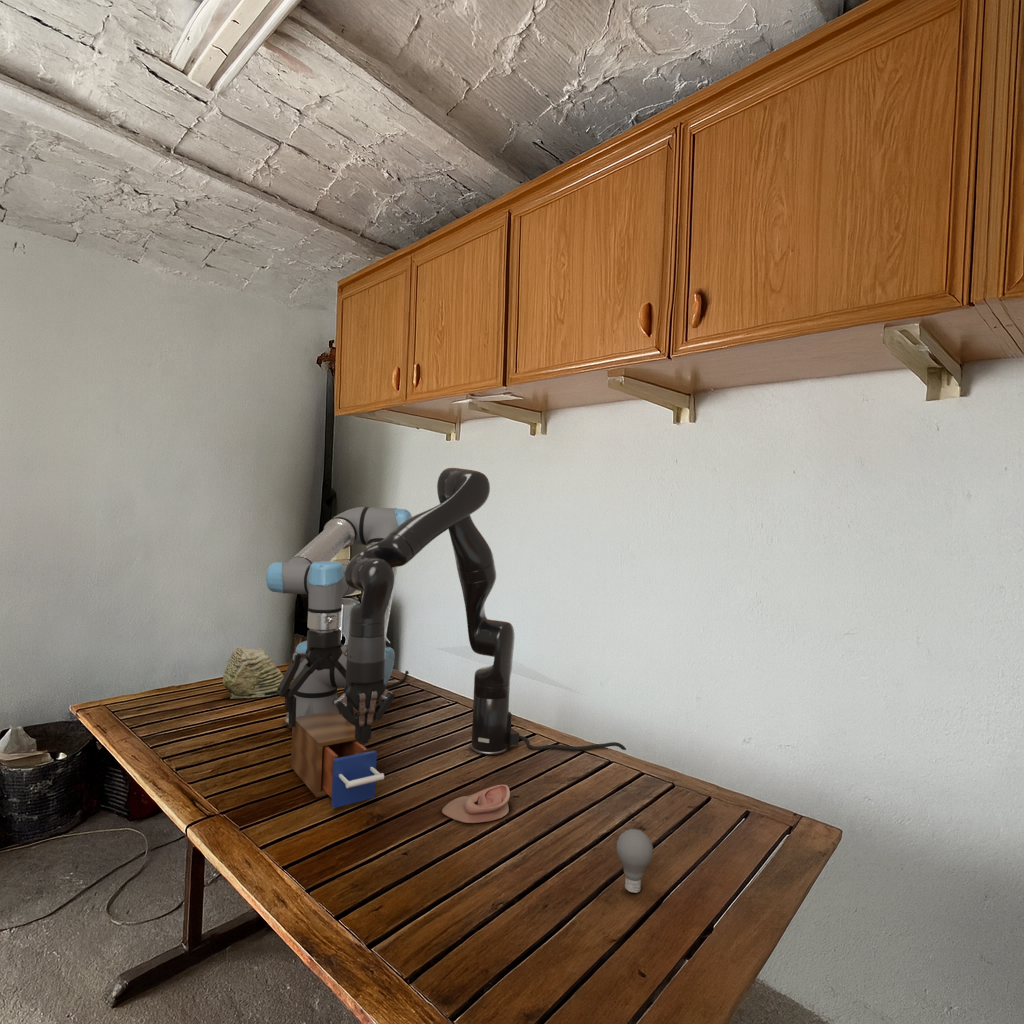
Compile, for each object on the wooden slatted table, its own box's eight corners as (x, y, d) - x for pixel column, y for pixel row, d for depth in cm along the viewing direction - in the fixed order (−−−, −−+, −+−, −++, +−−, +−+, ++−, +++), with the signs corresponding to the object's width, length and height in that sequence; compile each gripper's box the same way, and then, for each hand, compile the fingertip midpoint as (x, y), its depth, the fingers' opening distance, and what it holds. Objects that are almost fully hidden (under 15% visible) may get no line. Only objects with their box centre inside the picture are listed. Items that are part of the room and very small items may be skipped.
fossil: (218, 695, 195) (220, 647, 195) (278, 685, 208) (279, 640, 207) (228, 703, 189) (230, 653, 188) (289, 692, 201) (290, 645, 201)
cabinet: (362, 786, 139) (364, 734, 139) (316, 797, 133) (318, 743, 133) (333, 757, 154) (335, 710, 153) (290, 766, 148) (292, 717, 147)
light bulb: (610, 879, 108) (613, 822, 108) (644, 879, 109) (647, 822, 109) (619, 902, 102) (622, 840, 102) (655, 901, 103) (658, 840, 103)
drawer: (386, 808, 128) (388, 761, 128) (343, 820, 123) (345, 770, 123) (345, 768, 146) (347, 727, 146) (306, 777, 140) (308, 734, 140)
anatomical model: (437, 799, 126) (454, 775, 137) (436, 818, 126) (453, 793, 138) (502, 808, 124) (514, 783, 135) (501, 828, 124) (513, 801, 135)
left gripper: (273, 638, 136) (270, 735, 137) (381, 627, 151) (378, 715, 151) (264, 630, 142) (261, 724, 143) (368, 620, 157) (365, 705, 157)
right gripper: (341, 664, 120) (337, 755, 120) (404, 657, 128) (401, 742, 128) (327, 656, 126) (323, 742, 126) (388, 649, 134) (385, 730, 134)
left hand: (321, 719), depth 147 cm, fingers open, 13 cm apart
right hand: (362, 742), depth 127 cm, fingers closed
